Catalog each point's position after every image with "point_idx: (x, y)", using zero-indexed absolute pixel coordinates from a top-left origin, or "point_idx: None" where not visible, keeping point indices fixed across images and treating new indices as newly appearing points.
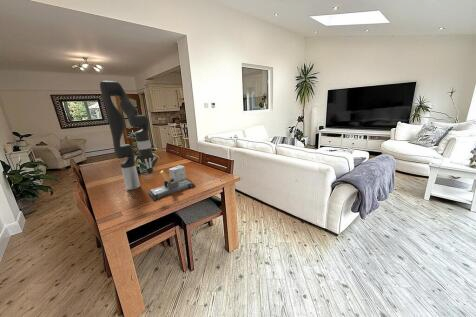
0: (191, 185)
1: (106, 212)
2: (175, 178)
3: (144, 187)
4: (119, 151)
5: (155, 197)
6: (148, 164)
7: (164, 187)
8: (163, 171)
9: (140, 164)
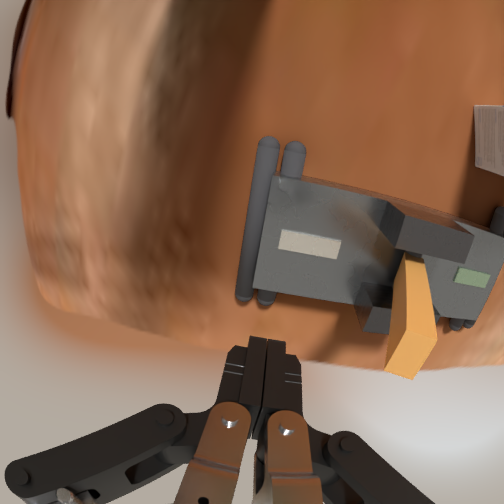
0: (458, 328)
1: (39, 198)
2: (498, 174)
3: (292, 8)
4: None
5: (249, 293)
6: (266, 466)
7: (366, 238)
8: (409, 376)
9: (90, 491)
